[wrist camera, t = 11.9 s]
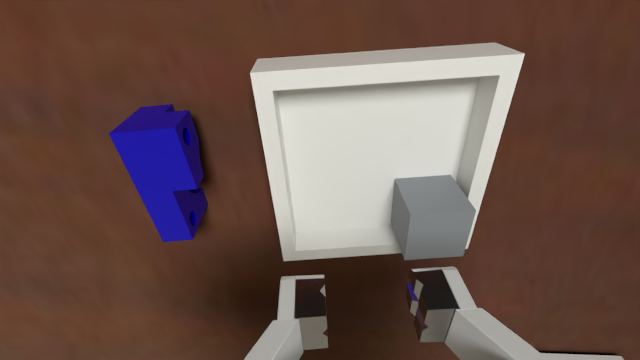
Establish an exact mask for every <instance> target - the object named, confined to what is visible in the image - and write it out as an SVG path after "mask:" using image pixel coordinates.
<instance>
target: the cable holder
mask: <svg viewBox="0 0 640 360" xmlns="http://www.w3.org/2000/svg"><path fill="white" fill-rule="evenodd" d="M109 135H110V137H111V139H112V141H113V143H114V145H115V147H116V149H117V151H118V153H119V155H120V157H121V158H122V160H123V162H124V164H125V166H126V168H127V170H128V172H129V174H130V176H131V178H132V180H133V182H134V184H135V186H136V188H137V190H138V192H139V194H140V196H141V198H142V200H143V202H144V204H145V206H146V208H147V210H148V212H149V214H150V216H151V218H152V220H153V222H154V224H155V226H156V228H157V230H158V232H159V234H160V236H161V238H162V240H163V242H169V241H181V240H192V239H193V238H194V236H195V233H196V231H197V228H198V226H199V224H200V221H201V219H202V217H203V214H204V212H205V209H206V207H207V205H208V203H207V200H206V197H205V194H204V192H203V189H202V188H198V187H199V185H200V183H201V181H202V179H203V177H204V174H203V171H202V167H201V161H200V154H199V138H198V135H197V132H196V129H195V126H194V123H193V120H192V117H191V114H190V111H189V110H186V111H175V110H174V107H173V105H172V104H170V105H159V106H149V107H141V108H139V109H138V110H137V111H136V112H135V113H133V114H132V115H131V116H130V117H129V118H127V119H126V120H125V121H124V122H123V123H121V124H120V125H119V126H118V127H116V128H115V129H114V130H113V131H112V132H110V133H109Z"/></svg>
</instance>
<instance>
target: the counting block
mask: <svg viewBox="0 0 640 360" xmlns="http://www.w3.org/2000/svg"><path fill="white" fill-rule="evenodd" d="M475 213H476V209H475V208H474V207H473V205H472V204H471V202H470V201H469V200H468V198H467V197H466V195H465V194H464V193H463V191H462V190H461V188H460V187H459V186H458V184H457V183H456V181H455V180H454V179H453V177H452V176H451V175H439V176H425V177H411V178H396V179H395V181H394V192H393V203H392V214H391V223H392V226H393V229H394V232H395V235H396V237H397V240H398V243H399V246H400V249H401V252H402V255H403V258H404V260H414V259H429V258H443V257H457V256H463V255H464V251H465V248H466V244H467V241H468V237H469V234H470V230H471V227H472V223H473V220H474V216H475Z"/></svg>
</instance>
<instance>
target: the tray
mask: <svg viewBox="0 0 640 360" xmlns="http://www.w3.org/2000/svg"><path fill="white" fill-rule="evenodd" d="M524 55H525V54H524V53H521V52H519V51H516V50H513V49H511V48H508V47H505V46H503V45H500V44H497V43H482V44H468V45H453V46H439V47H424V48H410V49H395V50H381V51H366V52H352V53H337V54H323V55H308V56H294V57H279V58H264V59H257V61H256V63H255V65H254V66H253V68H252V70H251V72H250V75H251V81H252V87H253V92H254V98H255V104H256V109H257V115H258V120H259V126H260V132H261V137H262V143H263V148H264V154H265V160H266V165H267V171H268V177H269V182H270V188H271V193H272V199H273V205H274V210H275V216H276V221H277V227H278V233H279V238H280V244H281V249H282V255H283V261H294V260H309V259H323V258H338V257H352V256H366V255H381V254H395V253H402V252H401V249H400V246H399V243H398V240H397V237H396V235H395V232H394V229H393V226H392V223H391V214H392V203H393V192H394V181H395V179H396V178H411V177H425V176H439V175H451V176H452V177H453V179H454V180H455V181H456V183H457V184H458V186H459V187H460V188H461V190H462V191H463V193H464V194H465V195H466V197H467V198H468V200H469V201H470V202H471V204H472V205H473V207H474V208H475V209H476V213H475V216H474V220H473V223H472V227H471V230H470V234H469V237H468V241H467V244H466V248H465V249H467V248H468V246H469V243H470V239H471V236H472V233H473V229H474V226H475V222H476V219H477V215H478V212H479V209H480V205H481V202H482V198H483V195H484V192H485V188H486V185H487V181H488V178H489V175H490V171H491V168H492V164H493V161H494V157H495V154H496V151H497V147H498V144H499V140H500V137H501V134H502V130H503V127H504V123H505V120H506V116H507V113H508V110H509V106H510V103H511V99H512V96H513V93H514V89H515V86H516V82H517V79H518V76H519V72H520V69H521V65H522V62H523V58H524Z"/></svg>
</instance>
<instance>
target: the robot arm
mask: <svg viewBox="0 0 640 360" xmlns="http://www.w3.org/2000/svg"><path fill="white" fill-rule="evenodd" d="M409 279H410V282H409V283H408V284H407V289H406V294H407V302H408V306H409V310H410V312H411V313H412V314H413V315H414V316H415V320H414V326H415V329H416V332H417V336H418V339H419V342H445V344H446V345H447V346H448V347H449V348H450V349H451V350H452V351H453V352H454V353H455V355H456V356H457V357H458V358H459V359H460V360H624V359H623V357H621V356H610V355H582V354H553V353H540V352H538V351H537V350H536V349H535V348H533V347H532V346H531V345H529V344H528V343H527V342H525V341H524V340H523V339H521V338H520V337H519V336H518V335H516V334H515V333H514V332H512V331H511V330H510V329H508V328H507V327H506V326H504V325H503V324H502V323H501V322H499V321H498V320H497V319H495V318H494V317H493V316H491V315H490V314H489V313H487V312H486V311H485V310H484V309H482V308H477V307H476V305H475V303H474V301H473V299H472V297H471V295H470V293H469V291H468V290H467V288H466V286H465V284H464V282H463V280H462V278H461V276H460V274H459V272H458V270H457V269H456V268H455V267H440V268H439V267H434V268H420V269H411V270H410V272H409ZM321 348H328V333H327V314H326V298H325V281H324V275H304V276H282V277H281V280H280V291H279V303H278V315H277V320H273V321H272V322H271V323H270V325H269V326H268V328H267V329H266V330H265V332H264V333H263V334H262V336H261V337H260V338H259V340H258V341H257V342H256V344H255V345H254V347H253V348H252V349H251V351H250V352H249V353H248V355H247V356H246V357H245V359H244V360H299V359H300V357H301V355H302V354H303V350H310V349H321Z"/></svg>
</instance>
